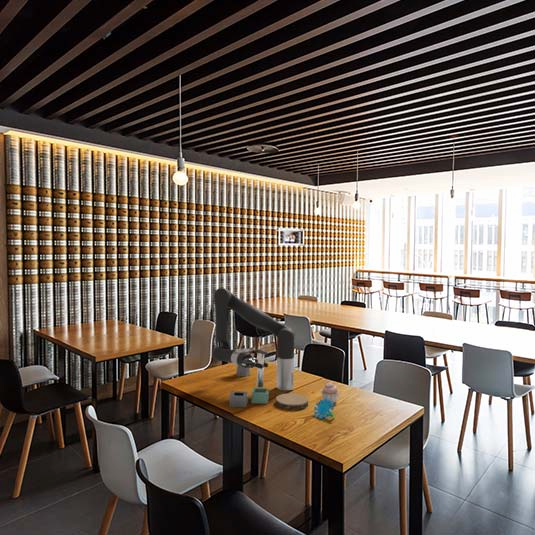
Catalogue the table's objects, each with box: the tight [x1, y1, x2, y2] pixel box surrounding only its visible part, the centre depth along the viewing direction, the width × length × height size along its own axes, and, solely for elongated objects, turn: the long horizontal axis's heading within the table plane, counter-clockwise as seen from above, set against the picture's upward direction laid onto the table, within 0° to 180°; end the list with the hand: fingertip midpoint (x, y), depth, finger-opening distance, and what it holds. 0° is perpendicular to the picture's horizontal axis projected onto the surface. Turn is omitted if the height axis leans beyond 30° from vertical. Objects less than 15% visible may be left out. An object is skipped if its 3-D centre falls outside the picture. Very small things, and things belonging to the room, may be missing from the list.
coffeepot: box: [234, 344, 258, 378], centre depth 251 cm, size 15×9×18 cm, turn 70°
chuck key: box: [255, 348, 268, 388], centre depth 207 cm, size 8×3×18 cm, turn 46°
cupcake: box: [320, 381, 340, 404], centre depth 208 cm, size 9×9×10 cm
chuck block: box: [228, 390, 249, 408], centre depth 201 cm, size 8×8×5 cm
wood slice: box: [275, 393, 309, 411], centre depth 203 cm, size 16×16×3 cm
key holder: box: [251, 387, 270, 405], centre depth 207 cm, size 8×8×5 cm
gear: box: [313, 398, 336, 420], centre depth 189 cm, size 11×6×10 cm
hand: (264, 365), depth 205 cm, fingers closed on chuck key, 3 cm apart
